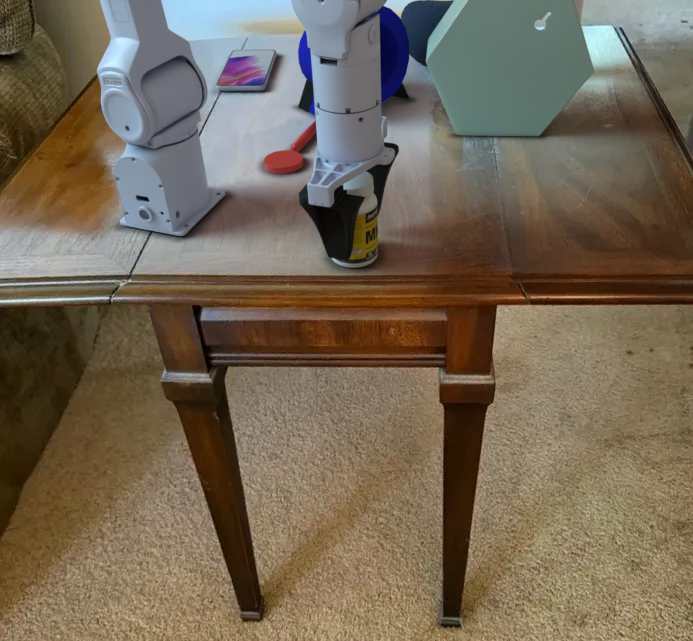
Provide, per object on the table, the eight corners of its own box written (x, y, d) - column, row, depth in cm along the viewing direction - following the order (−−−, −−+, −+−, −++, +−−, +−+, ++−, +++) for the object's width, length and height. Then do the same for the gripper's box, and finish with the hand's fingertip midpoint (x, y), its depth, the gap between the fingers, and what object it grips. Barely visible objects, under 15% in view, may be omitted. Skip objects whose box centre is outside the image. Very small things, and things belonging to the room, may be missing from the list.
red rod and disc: (293, 176, 88) (292, 167, 88) (257, 171, 90) (256, 161, 89) (336, 128, 98) (336, 119, 97) (304, 124, 100) (303, 115, 99)
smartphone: (277, 49, 120) (264, 86, 108) (277, 54, 120) (265, 92, 109) (231, 49, 120) (214, 86, 108) (232, 55, 121) (214, 92, 109)
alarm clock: (347, 129, 98) (341, 8, 88) (288, 103, 105) (277, -12, 96) (414, 101, 104) (415, -15, 94) (354, 78, 111) (350, -32, 102)
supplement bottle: (373, 271, 73) (372, 193, 68) (325, 267, 74) (320, 190, 68) (382, 244, 76) (381, 168, 71) (336, 240, 77) (331, 165, 72)
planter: (508, 143, 103) (618, 9, 91) (511, 169, 97) (629, 30, 85) (403, 75, 99) (504, -75, 87) (399, 98, 93) (507, -59, 81)
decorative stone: (492, 75, 110) (498, 3, 104) (413, 86, 108) (414, 13, 102) (464, 48, 119) (468, -19, 113) (390, 58, 117) (390, -11, 111)
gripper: (361, 142, 59) (366, 285, 67) (418, 74, 69) (416, 205, 78) (278, 131, 61) (293, 271, 69) (345, 67, 71) (351, 195, 80)
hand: (353, 235), depth 74 cm, fingers open, 7 cm apart
